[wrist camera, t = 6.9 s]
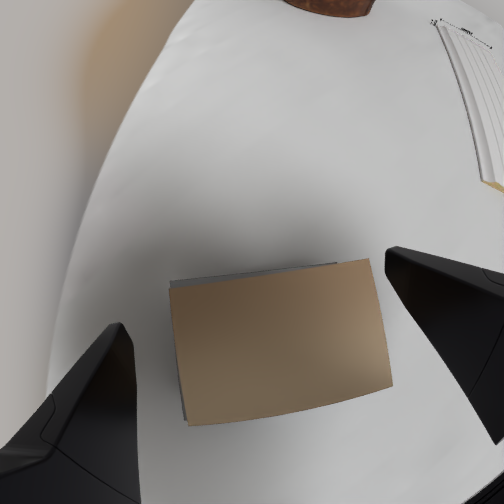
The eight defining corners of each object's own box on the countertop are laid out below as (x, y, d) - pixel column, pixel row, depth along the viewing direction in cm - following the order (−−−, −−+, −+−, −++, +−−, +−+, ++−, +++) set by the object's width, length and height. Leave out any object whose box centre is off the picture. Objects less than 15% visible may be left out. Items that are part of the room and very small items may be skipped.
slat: (304, 363, 16) (393, 386, 6) (224, 377, 16) (188, 426, 6) (295, 312, 17) (368, 258, 7) (216, 325, 17) (168, 288, 6)
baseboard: (466, 179, 22) (539, 217, 22) (483, 163, 19) (555, 207, 19) (426, 24, 31) (486, 56, 31) (432, 12, 28) (493, 45, 28)
